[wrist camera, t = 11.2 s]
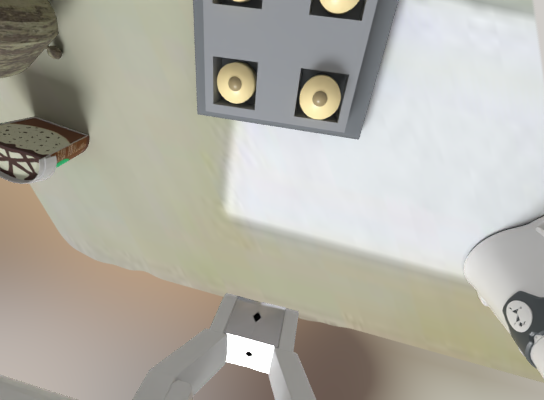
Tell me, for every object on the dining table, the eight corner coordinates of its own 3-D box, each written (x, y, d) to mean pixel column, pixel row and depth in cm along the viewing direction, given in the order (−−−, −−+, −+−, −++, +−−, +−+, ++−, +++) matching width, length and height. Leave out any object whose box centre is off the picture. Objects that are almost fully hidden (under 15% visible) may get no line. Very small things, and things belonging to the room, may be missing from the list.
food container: (33, 147, 47) (-31, 170, 39) (26, 113, 44) (-46, 130, 35) (100, 170, 47) (50, 198, 39) (97, 138, 44) (43, 161, 35)
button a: (343, 77, 30) (345, 79, 28) (334, 117, 32) (335, 122, 30) (304, 71, 30) (303, 74, 28) (298, 111, 32) (296, 116, 30)
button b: (259, 64, 32) (254, 65, 30) (256, 102, 34) (251, 106, 32) (223, 59, 32) (216, 60, 30) (223, 97, 35) (216, 100, 33)
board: (440, -161, 23) (466, -207, 19) (357, 134, 36) (361, 147, 32) (195, -174, 25) (168, -218, 21) (203, 110, 38) (188, 119, 34)
